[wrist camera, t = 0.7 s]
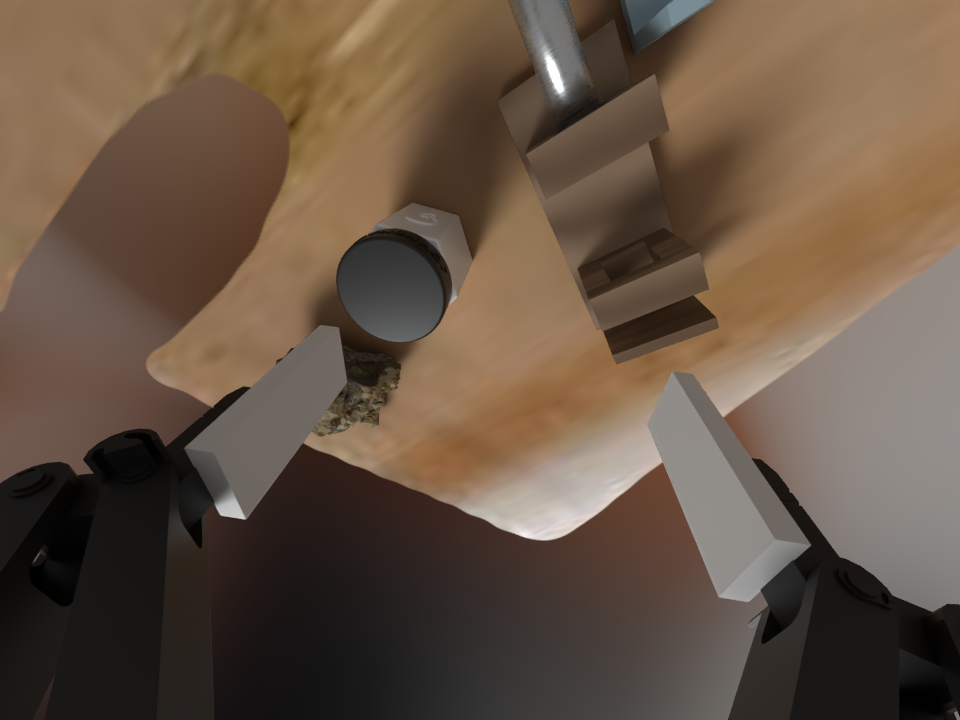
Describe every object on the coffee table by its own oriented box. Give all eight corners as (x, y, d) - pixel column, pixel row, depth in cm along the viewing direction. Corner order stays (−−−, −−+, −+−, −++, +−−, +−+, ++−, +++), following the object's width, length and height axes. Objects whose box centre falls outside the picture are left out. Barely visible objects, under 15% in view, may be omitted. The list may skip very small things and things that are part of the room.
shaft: (439, -93, 21) (411, -164, 16) (529, -183, 19) (530, -298, 14) (549, 175, 28) (554, 184, 23) (625, 131, 26) (648, 130, 21)
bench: (497, 102, 28) (486, 91, 20) (609, 24, 25) (645, -24, 17) (594, 323, 37) (611, 371, 30) (684, 287, 34) (728, 330, 27)
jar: (482, 218, 33) (462, 255, 23) (464, 296, 37) (441, 356, 27) (389, 193, 33) (328, 219, 23) (383, 275, 37) (329, 326, 27)
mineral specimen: (389, 431, 50) (361, 490, 42) (300, 402, 49) (254, 456, 41) (412, 352, 42) (383, 405, 34) (307, 315, 41) (251, 360, 33)
